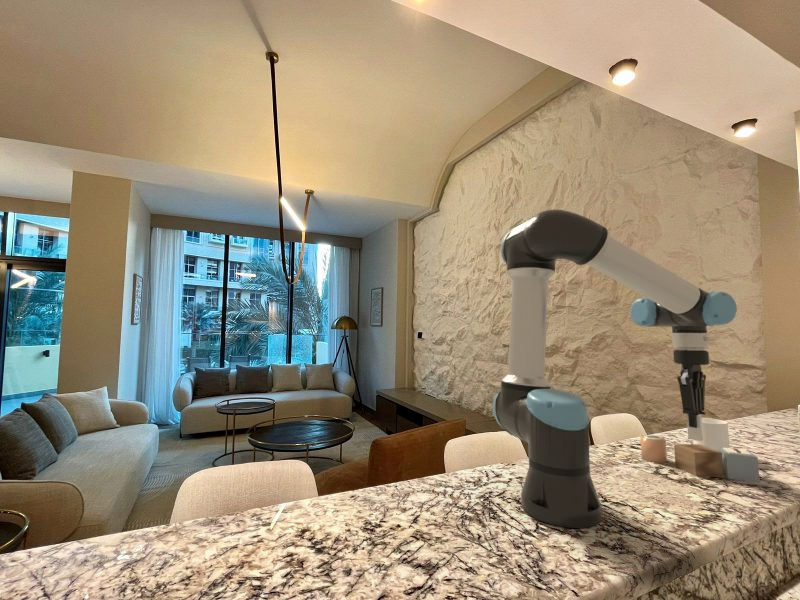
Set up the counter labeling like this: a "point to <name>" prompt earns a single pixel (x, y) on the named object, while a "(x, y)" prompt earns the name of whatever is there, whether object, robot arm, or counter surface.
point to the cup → (714, 434)
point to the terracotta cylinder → (653, 449)
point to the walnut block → (698, 460)
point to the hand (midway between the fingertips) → (695, 439)
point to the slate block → (740, 464)
